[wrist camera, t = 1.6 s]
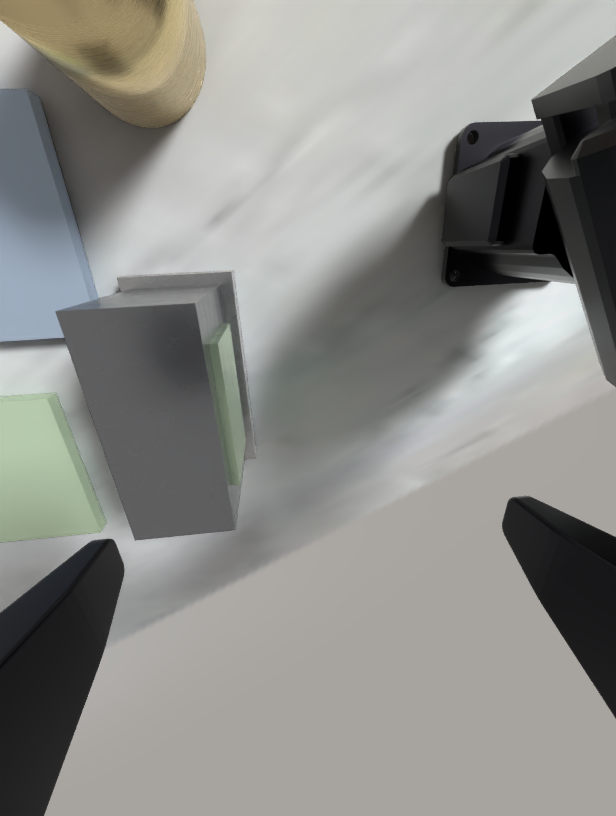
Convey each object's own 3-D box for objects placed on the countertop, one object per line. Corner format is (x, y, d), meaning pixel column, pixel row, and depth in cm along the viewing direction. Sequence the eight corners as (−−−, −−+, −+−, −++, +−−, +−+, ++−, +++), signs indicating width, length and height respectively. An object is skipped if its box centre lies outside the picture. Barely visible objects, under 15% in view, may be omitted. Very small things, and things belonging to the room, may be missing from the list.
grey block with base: (233, 270, 16) (209, 284, 10) (256, 449, 21) (249, 537, 14) (125, 276, 16) (30, 294, 10) (171, 456, 20) (125, 550, 14)
